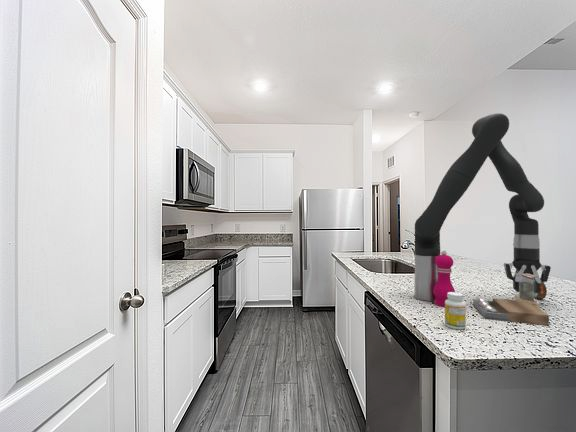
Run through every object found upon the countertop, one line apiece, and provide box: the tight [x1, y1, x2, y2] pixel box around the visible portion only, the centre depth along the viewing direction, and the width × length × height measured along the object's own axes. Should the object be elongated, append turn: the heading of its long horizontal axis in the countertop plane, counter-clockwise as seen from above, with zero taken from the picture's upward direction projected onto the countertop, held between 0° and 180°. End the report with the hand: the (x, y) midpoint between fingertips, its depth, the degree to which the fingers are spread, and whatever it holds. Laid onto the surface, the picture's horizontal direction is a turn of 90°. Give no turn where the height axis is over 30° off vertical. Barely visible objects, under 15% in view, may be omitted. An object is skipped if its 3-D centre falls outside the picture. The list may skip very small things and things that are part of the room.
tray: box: [472, 298, 509, 322], centre depth 97 cm, size 6×16×2 cm, turn 158°
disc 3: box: [483, 304, 499, 313], centre depth 93 cm, size 4×4×2 cm
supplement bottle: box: [444, 291, 467, 330], centre depth 84 cm, size 5×5×10 cm
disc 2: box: [479, 300, 494, 308], centre depth 97 cm, size 4×4×2 cm
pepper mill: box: [433, 250, 456, 308], centre depth 106 cm, size 7×7×20 cm
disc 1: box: [476, 296, 490, 305], centre depth 102 cm, size 4×4×2 cm
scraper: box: [514, 282, 541, 310], centre depth 107 cm, size 3×14×8 cm, turn 159°
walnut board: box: [491, 297, 550, 327], centre depth 94 cm, size 10×16×3 cm, turn 158°
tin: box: [518, 274, 548, 300], centre depth 118 cm, size 15×3×8 cm, turn 168°
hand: (526, 291), depth 107 cm, fingers open, 5 cm apart
